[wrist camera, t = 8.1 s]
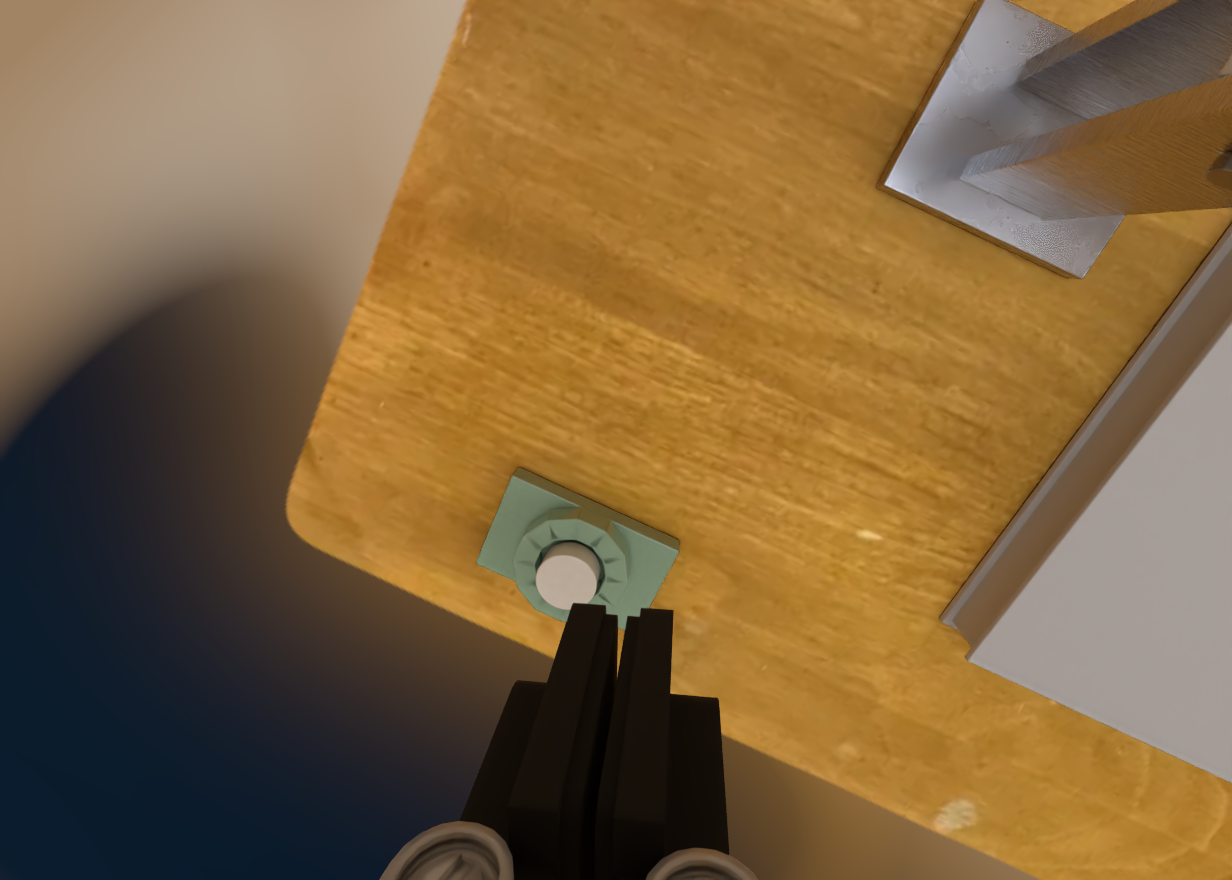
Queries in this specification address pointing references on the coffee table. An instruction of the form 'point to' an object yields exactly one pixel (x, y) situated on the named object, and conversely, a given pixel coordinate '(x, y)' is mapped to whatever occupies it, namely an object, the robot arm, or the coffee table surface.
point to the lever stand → (1072, 127)
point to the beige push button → (568, 575)
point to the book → (1130, 547)
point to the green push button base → (559, 515)
